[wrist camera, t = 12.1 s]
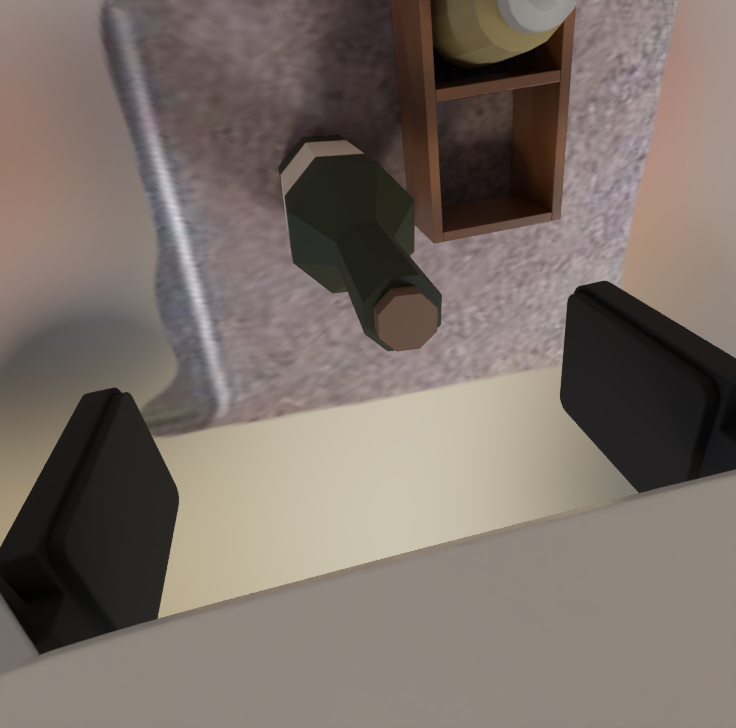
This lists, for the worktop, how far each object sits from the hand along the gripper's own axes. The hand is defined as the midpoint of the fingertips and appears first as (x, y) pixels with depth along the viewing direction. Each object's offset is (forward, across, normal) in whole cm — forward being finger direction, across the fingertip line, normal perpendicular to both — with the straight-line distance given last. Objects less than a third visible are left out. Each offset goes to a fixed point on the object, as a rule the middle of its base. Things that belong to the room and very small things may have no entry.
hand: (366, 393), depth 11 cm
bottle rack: (+38, -16, -3) cm, 41 cm away
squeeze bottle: (+38, -16, -8) cm, 42 cm away
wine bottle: (+38, -3, +3) cm, 38 cm away
